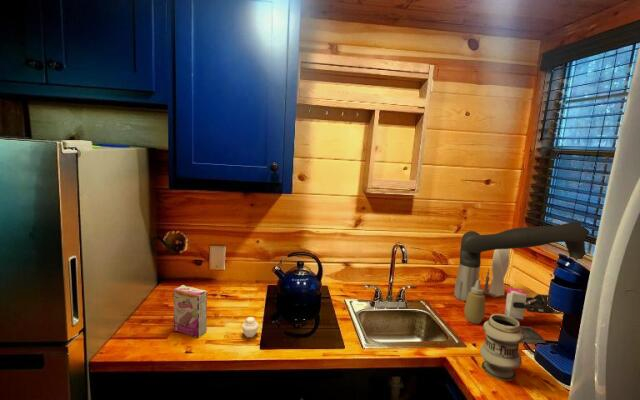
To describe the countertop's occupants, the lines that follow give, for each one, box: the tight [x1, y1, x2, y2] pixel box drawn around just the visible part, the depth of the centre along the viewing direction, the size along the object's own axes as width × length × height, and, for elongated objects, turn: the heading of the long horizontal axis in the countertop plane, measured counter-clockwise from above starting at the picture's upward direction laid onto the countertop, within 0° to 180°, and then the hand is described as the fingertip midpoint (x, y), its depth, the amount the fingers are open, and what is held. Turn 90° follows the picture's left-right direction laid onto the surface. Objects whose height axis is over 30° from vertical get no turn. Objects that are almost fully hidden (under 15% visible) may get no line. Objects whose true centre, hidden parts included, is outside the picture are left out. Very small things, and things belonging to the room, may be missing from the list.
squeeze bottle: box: [463, 279, 486, 325], centre depth 143 cm, size 8×8×18 cm
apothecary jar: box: [479, 313, 524, 382], centre depth 110 cm, size 12×12×18 cm
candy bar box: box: [173, 284, 208, 338], centre depth 123 cm, size 11×5×16 cm, turn 71°
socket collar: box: [520, 325, 546, 345], centre depth 134 cm, size 10×10×2 cm
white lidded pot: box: [241, 316, 260, 338], centre depth 124 cm, size 6×6×7 cm
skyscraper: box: [483, 249, 511, 298], centre depth 172 cm, size 8×8×28 cm
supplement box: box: [503, 287, 528, 321], centre depth 144 cm, size 6×6×12 cm
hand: (509, 301), depth 144 cm, fingers closed on supplement box, 6 cm apart
